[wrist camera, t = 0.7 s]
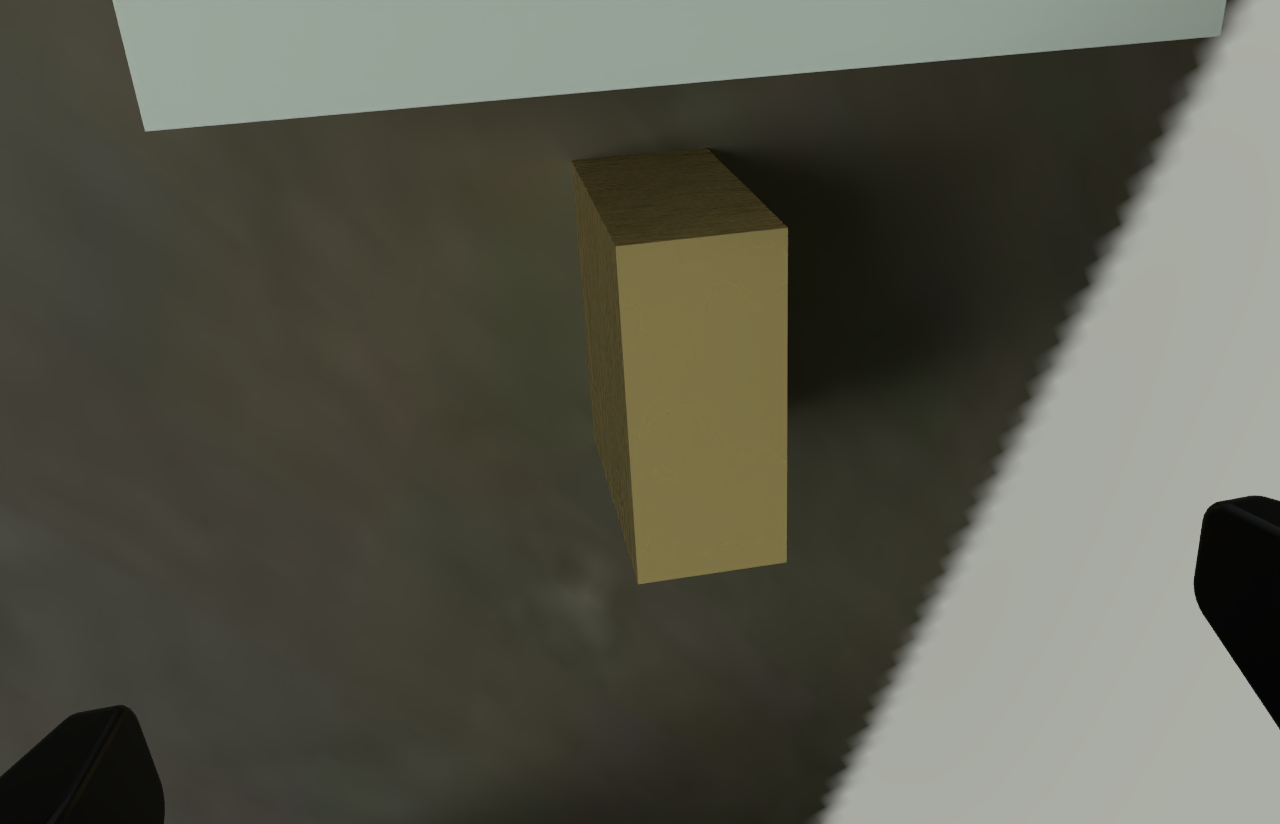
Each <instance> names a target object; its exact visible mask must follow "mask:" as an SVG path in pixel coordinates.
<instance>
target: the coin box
mask: <svg viewBox="0 0 1280 824" xmlns="http://www.w3.org/2000/svg"><path fill="white" fill-rule="evenodd" d="M113 4H114V8H115V12H116V16H117V20H118V24H119V28H120V32H121V36H122V40H123V44H124V48H125V52H126V56H127V60H128V64H129V68H130V72H131V76H132V80H133V84H134V88H135V92H136V96H137V100H138V104H139V108H140V112H141V117H142V121H143V125H144V129H145V131H155V130H166V129H177V128H189V127H200V126H211V125H222V124H234V123H245V122H256V121H267V120H279V119H290V118H301V117H313V116H324V115H335V114H346V113H358V112H369V111H380V110H391V109H403V108H414V107H425V106H437V105H448V104H459V103H470V102H482V101H493V100H504V99H516V98H527V97H538V96H549V95H561V94H572V93H583V92H594V91H606V90H617V89H628V88H640V87H651V86H662V85H673V84H685V83H696V82H707V81H719V80H730V79H741V78H752V77H764V76H775V75H786V74H797V73H809V72H820V71H831V70H843V69H854V68H865V67H876V66H888V65H899V64H910V63H922V62H933V61H944V60H955V59H967V58H978V57H989V56H1000V55H1012V54H1023V53H1034V52H1046V51H1057V50H1068V49H1079V48H1091V47H1102V46H1113V45H1124V44H1136V43H1147V42H1158V41H1170V40H1181V39H1192V38H1203V37H1215V36H1220V35H1221V29H1222V23H1223V17H1224V11H1225V5H1226V0H113Z"/></svg>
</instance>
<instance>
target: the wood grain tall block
mask: <svg viewBox="0 0 1280 824" xmlns="http://www.w3.org/2000/svg"><path fill="white" fill-rule="evenodd" d="M572 172H573V184H574V196H575V208H576V220H577V232H578V245H579V257H580V269H581V281H582V293H583V305H584V318H585V330H586V342H587V354H588V366H589V378H590V391H591V403H592V415H593V427H594V439H595V444H596V447H597V450H598V453H599V457H600V460H601V463H602V467H603V470H604V473H605V477H606V480H607V483H608V486H609V490H610V493H611V496H612V500H613V503H614V506H615V509H616V513H617V516H618V519H619V523H620V526H621V529H622V533H623V536H624V539H625V542H626V546H627V549H628V552H629V556H630V559H631V562H632V566H633V569H634V572H635V575H636V579H637V582H638V584H643V583H650V582H656V581H663V580H670V579H677V578H683V577H690V576H697V575H704V574H711V573H717V572H724V571H731V570H738V569H744V568H751V567H758V566H765V565H771V564H778V563H785V562H787V342H788V227H787V226H786V225H785V224H784V223H783V222H782V221H780V220H779V219H778V218H777V217H776V216H775V215H774V214H773V213H772V212H771V211H770V210H769V209H768V208H767V207H766V206H765V205H764V204H763V203H762V202H761V201H760V200H759V199H758V198H757V197H756V196H755V195H754V194H753V193H752V192H751V191H750V190H749V189H748V188H747V187H746V186H745V185H744V184H743V183H742V182H741V181H740V180H739V179H738V178H737V177H736V176H735V175H734V174H733V173H732V172H731V171H730V170H729V169H727V168H726V167H725V166H724V165H723V164H722V163H721V162H720V161H719V160H718V159H717V158H716V157H715V156H714V155H713V154H712V153H711V152H710V151H709V150H708V149H707V148H701V149H690V150H680V151H669V152H659V153H649V154H638V155H628V156H618V157H607V158H597V159H587V160H576V161H572Z"/></svg>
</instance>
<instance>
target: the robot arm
mask: <svg viewBox="0 0 1280 824" xmlns="http://www.w3.org/2000/svg"><path fill="white" fill-rule="evenodd" d="M1194 592H1195V596H1196V600H1197V602H1198V605H1199V607H1200V609H1201V611H1202V613H1203V615H1204V616H1205V618H1206V619H1207V621H1208V622H1209V623H1210V625H1211V627H1212V628H1213V630H1214V631H1215V633H1216V634H1217V636H1218V637H1219V638H1220V640H1221V642H1222V643H1223V645H1224V646H1225V648H1226V649H1227V651H1228V652H1229V654H1230V655H1231V657H1232V658H1233V660H1234V661H1235V663H1236V664H1237V666H1238V667H1239V669H1240V670H1241V672H1242V673H1243V675H1244V676H1245V678H1246V679H1247V681H1248V682H1249V684H1250V685H1251V687H1252V688H1253V690H1254V691H1255V693H1256V694H1257V696H1258V697H1259V699H1260V700H1261V702H1262V703H1263V705H1264V706H1265V708H1266V709H1267V711H1268V712H1269V714H1270V715H1271V717H1272V718H1273V720H1274V721H1275V723H1276V724H1277V726H1278V727H1279V729H1280V501H1278V500H1274V499H1270V498H1267V497H1263V496H1247V497H1242V498H1236V499H1232V500H1226V501H1220V502H1216V503H1214V504H1213V505H1211V506H1210V507H1209V508H1208V509H1207V511H1206V513H1205V514H1204V518H1203V522H1202V529H1201V535H1200V542H1199V549H1198V556H1197V563H1196V569H1195V576H1194ZM164 817H165V802H164V793H163V788H162V784H161V781H160V778H159V776H158V773H157V770H156V767H155V765H154V762H153V759H152V757H151V754H150V751H149V748H148V746H147V743H146V740H145V737H144V735H143V732H142V729H141V727H140V724H139V721H138V719H137V717H136V715H135V714H134V713H133V711H132V710H131V709H130V708H128V707H126V706H124V705H117V706H111V707H106V708H100V709H95V710H89V711H84V712H79V713H75V714H73V715H71V716H69V717H68V718H67V719H65V720H64V721H63V722H62V723H61V724H59V725H58V726H57V727H56V728H55V729H54V730H53V731H52V732H50V733H49V734H48V735H47V736H46V737H45V738H44V739H42V740H41V741H40V742H39V743H38V744H37V745H36V746H35V747H33V748H32V749H31V750H30V751H29V752H28V753H27V754H26V755H24V756H23V757H22V758H21V759H20V760H19V761H18V762H17V763H15V764H14V765H13V766H12V767H11V768H10V769H9V770H8V771H6V772H5V773H4V774H3V775H2V776H1V777H0V824H164Z"/></svg>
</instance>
